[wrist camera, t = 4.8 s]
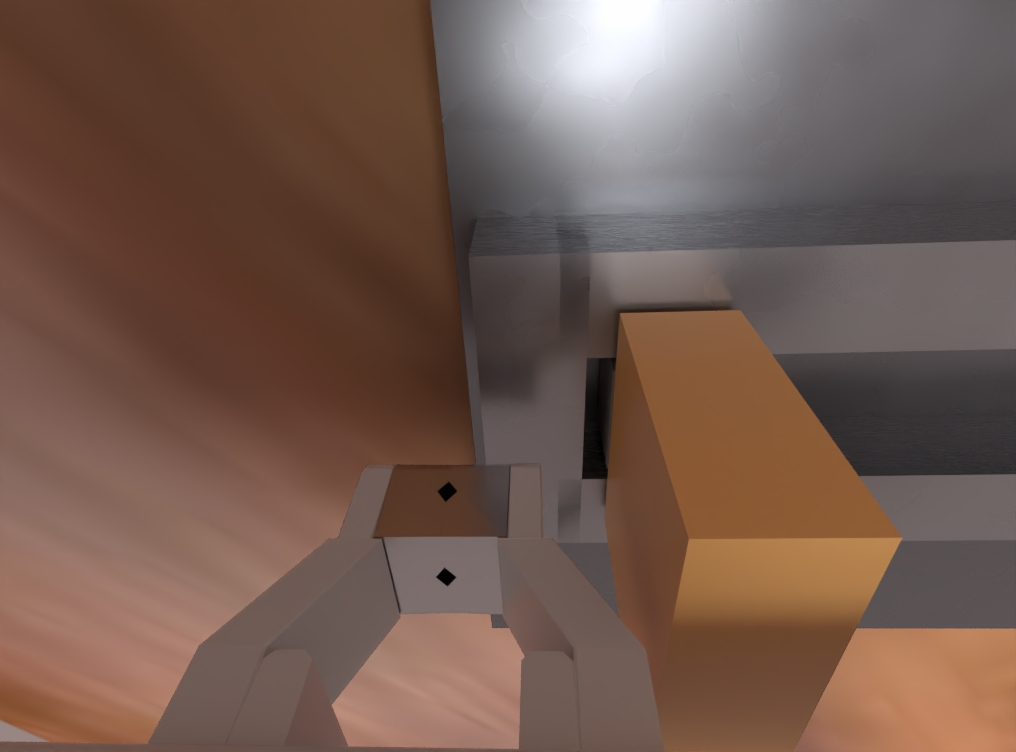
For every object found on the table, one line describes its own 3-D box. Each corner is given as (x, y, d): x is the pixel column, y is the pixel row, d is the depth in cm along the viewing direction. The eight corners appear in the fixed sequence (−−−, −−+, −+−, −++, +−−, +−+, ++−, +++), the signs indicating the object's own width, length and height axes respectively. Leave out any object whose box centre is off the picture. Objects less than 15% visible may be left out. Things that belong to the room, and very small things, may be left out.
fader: (594, 457, 14) (642, 770, 8) (605, 267, 11) (689, 539, 5) (677, 456, 14) (782, 772, 8) (708, 264, 11) (902, 537, 5)
